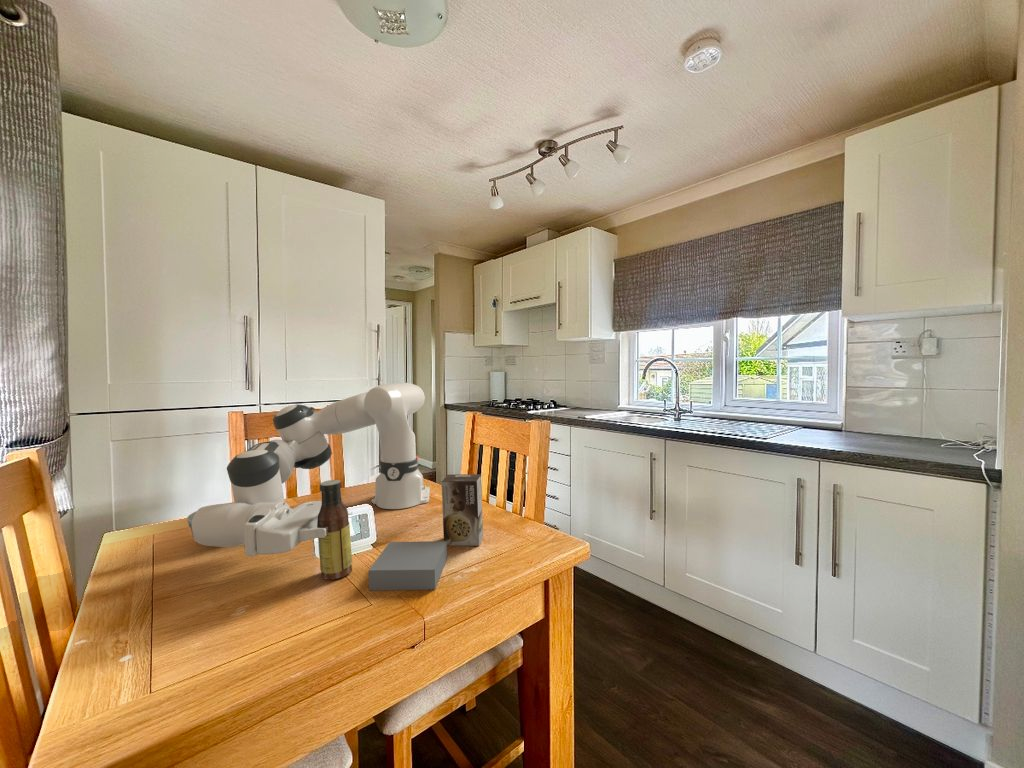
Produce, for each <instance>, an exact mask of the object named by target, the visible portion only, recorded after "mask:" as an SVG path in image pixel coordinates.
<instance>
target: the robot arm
mask: <svg viewBox="0 0 1024 768" xmlns="http://www.w3.org/2000/svg"><path fill="white" fill-rule="evenodd" d="M425 400H426V397H425V393H424V390H423V389H422V388H421V386H419V385H416V384H414V383H411V382H396V383H393V382H392V383H383V384H379V385H378V386H374V387H373V388H371V389H369V390H368V391H367V392H362V393H359V394H355V395H352V396H350V397H346V398H344V399H339V400H337V401H334V402H332V403H331V404H328V405H326V406H324V407H323V408H321V409H320V410H318V411H316V412H315V410H316V408H314V407H313V406H311V407H310V406H307V405H305V404H304V405H303V404H299V403H298V404H292V405H288V406H285V407H283V408H282V409H280V410H278V411H277V413H275V414H274V416H273V418H272V422H273V426H274V428H275V430H277V433H278V435H279V436H280V439H272V440H269V441H263V442H258V443H256V444H254V445H251V446H250V448H248V449H247V450H246V451H244V452H241V453H239V454H236V455H235V456H234V457H233V458H232V459H231V460H230V462H229V463H228V464H227V466H226V472H227V475H228V478H229V481H230V486H231V491H232V496H233V500H234V503H232V502H227V503H226V502H225V503H226V504H225V503H219V504H210V505H206V506H202V507H200V508H198V509H197V510H196V511H195V512H196V513H195V515H194V517H193V519H192V524H191V529H190V530H191V535H192V537H193V539H194V541H195V542H196V543H198V544H200V545H203V546H207V547H208V546H209V547H219V548H223V547H224V548H226V547H227V548H229V547H230V548H235V547H238V546H241V545H243V546H244V550H245V556H246V557H256V556H258V555H279V554H285V553H288V552H290V551H292V550H293V549H295V547H298V545H300V544H301V543H302V542H307V541H311V540H315V539H318V538H324V537H325V536H326V535H327V534H328V527H327V526H319V527H318V528H317V521H318V514H319V512H320V509H321V505H322V500H312V501H307V502H302V503H300V504H298V505H297V506H295V507H294V508H291V506H290V505H289V504H288V503H287V502H285V496H284V490H283V489H284V488H283V484H284V483H286V482H287V481H288V480H289V478H291V476H292V475H293V472H294V469H299V468H300V469H303V470H313V469H315V468H319V467H321V466H322V465H325V463H327V462H328V461H329V460H330V458H331V456H332V455H333V452H332V448H331V445H330V443H328V440H327V438H326V436H325V435H327V436H329V435H330V436H331V435H338V434H345V433H350V432H353V431H356V430H360V429H363V428H364V429H365V428H367V427H370V426H374V425H375V426H376V428H377V432H378V436H379V447H380V460H379V466H378V468H379V472H380V474H379V475H378V476H376V477H375V488H374V489H375V490H374V498H372V499H370V503H371V502H372V503H373V504H372V503H371V504H372V505H375V504H376V505H375V506H377V507H378V508H381V509H385V510H401V509H406V508H412V507H414V506H418V505H421V504H426V503H429V502H430V494H431V492H430V491H431V490H430V488H431V487H429V486H425V485H424V475H423V474H422V472H421V471H420V470H419V456H418V455H417V448H416V446H417V443H416V435H415V432H414V431H413V430H412V429H411V427H410V424H409V420H408V416H410V415H412V414H413V415H414V413H416V412H418V411H419V410H420V409H421V408H422V407H424V404H425ZM347 512H348V513H349V510H348V509H347Z"/></svg>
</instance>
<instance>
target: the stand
mask: <svg viewBox="0 0 1024 768" xmlns="http://www.w3.org/2000/svg"><path fill="white" fill-rule="evenodd" d="M447 561H448V545H447V541H444V540H439V541H438V540H434V541H425V540H424V541H422V540H421V541H389V542H388V543H387V545H386V546H385V547H384V548H383V550H382V552H381V553H380V554H379V556H378V557H377V558H376V560H375V561H374V562H373V563H372V565H371V566H370V568H369V569H368V590H369V591H430V590H431V591H433V590H432V589H435V590H436V589H437V587H436V586H438V583H439V582H440V581H439V580H440V579H439V578H441V575H442V573H443V570H444V568H445V565H446V562H447ZM429 589H430V590H429Z"/></svg>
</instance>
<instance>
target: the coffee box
mask: <svg viewBox="0 0 1024 768" xmlns="http://www.w3.org/2000/svg"><path fill="white" fill-rule="evenodd" d="M440 485H441V498H442V499H441V500H442V501H441V502H442V503H441V505H442V528H443V529H442V533H443V541H447V546H457V547H458V546H461V547H462V546H465V547H467V546H468V547H472V546H473V547H479V546H480V545H481V544H482V543H481V542H482V540H483V538H484V523H483V522H484V521H483V520H484V518H483V517H484V516H483V493H482V492H483V491H482V473H480V474H479V473H477V474H473V473H472V474H467V473H466V474H465V473H464V474H447V475H445V477H444V478H443V480H441V482H440Z"/></svg>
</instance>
